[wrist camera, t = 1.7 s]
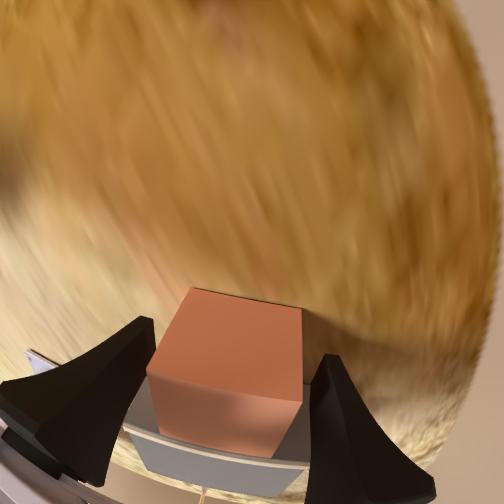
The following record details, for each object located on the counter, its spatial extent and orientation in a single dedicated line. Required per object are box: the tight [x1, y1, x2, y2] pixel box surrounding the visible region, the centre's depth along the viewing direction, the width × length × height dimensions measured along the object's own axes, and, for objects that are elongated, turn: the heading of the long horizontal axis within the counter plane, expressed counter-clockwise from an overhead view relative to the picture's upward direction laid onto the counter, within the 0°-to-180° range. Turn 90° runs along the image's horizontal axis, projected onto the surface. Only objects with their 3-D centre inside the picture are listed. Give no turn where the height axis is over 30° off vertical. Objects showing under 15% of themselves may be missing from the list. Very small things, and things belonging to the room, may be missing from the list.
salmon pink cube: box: [146, 288, 303, 458], centre depth 11 cm, size 5×5×5 cm
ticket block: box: [122, 376, 311, 498], centre depth 14 cm, size 8×9×5 cm
